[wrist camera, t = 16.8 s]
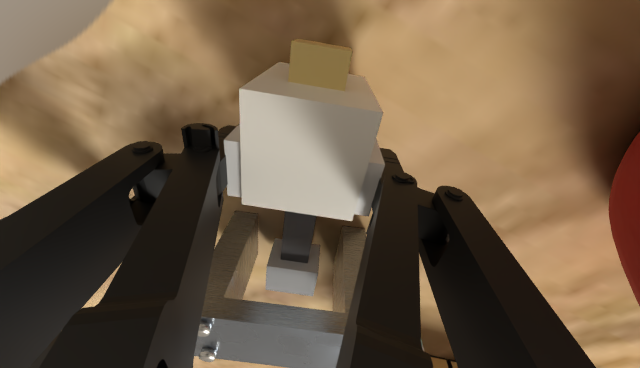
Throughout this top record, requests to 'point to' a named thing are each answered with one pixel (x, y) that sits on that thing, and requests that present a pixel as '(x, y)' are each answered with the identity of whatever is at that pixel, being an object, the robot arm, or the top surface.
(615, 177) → the mixing bowl
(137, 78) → the top surface
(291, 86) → the plug
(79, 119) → the top surface
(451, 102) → the top surface
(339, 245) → the housing
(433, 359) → the puzzle cube
